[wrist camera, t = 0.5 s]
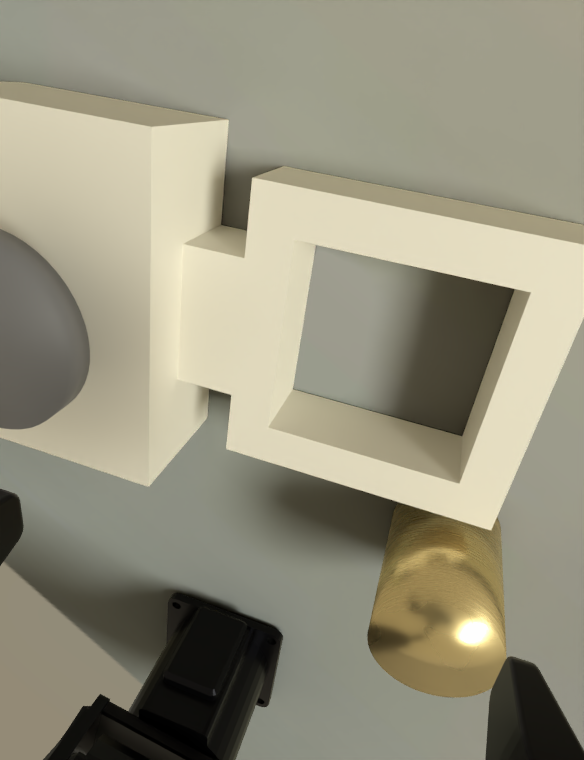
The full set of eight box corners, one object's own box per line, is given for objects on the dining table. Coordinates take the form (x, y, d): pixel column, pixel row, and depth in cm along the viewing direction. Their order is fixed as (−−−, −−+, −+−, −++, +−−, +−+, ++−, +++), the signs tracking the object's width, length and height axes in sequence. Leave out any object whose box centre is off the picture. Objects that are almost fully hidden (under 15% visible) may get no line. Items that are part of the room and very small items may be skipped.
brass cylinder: (482, 581, 24) (481, 714, 19) (382, 548, 25) (356, 667, 19) (516, 505, 21) (526, 632, 16) (405, 472, 22) (383, 583, 17)
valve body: (481, 499, 22) (480, 669, 15) (50, 371, 26) (-95, 463, 19) (607, 188, 16) (693, 252, 9) (23, 82, 20) (-199, 75, 13)
